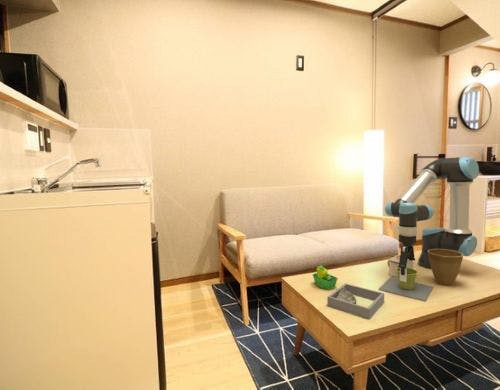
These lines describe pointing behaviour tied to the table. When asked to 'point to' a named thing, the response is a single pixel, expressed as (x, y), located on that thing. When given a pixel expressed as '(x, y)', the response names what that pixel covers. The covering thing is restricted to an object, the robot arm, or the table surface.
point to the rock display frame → (355, 308)
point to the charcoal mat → (417, 292)
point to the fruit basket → (324, 278)
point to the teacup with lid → (394, 265)
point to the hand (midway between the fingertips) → (406, 276)
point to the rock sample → (346, 296)
